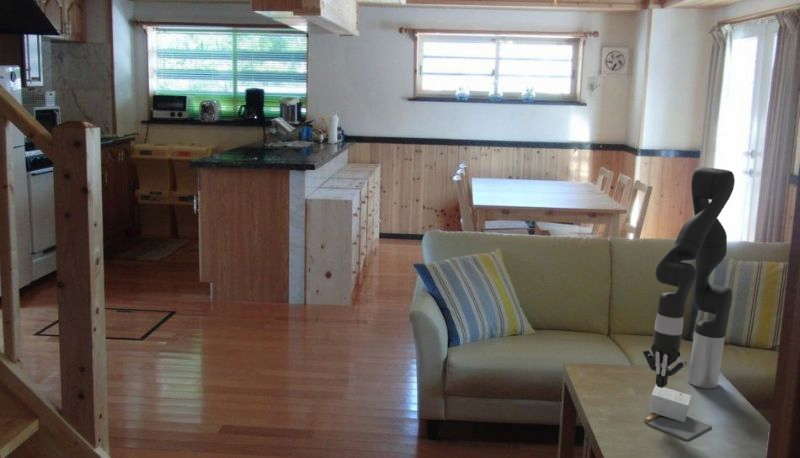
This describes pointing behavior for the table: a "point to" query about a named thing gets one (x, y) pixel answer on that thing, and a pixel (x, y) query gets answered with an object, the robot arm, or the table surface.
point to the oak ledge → (652, 417)
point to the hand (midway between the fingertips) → (660, 386)
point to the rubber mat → (680, 427)
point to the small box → (669, 403)
